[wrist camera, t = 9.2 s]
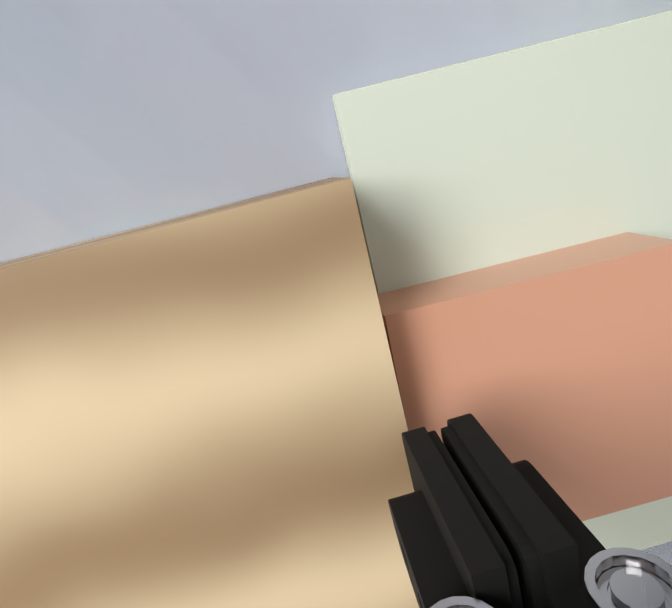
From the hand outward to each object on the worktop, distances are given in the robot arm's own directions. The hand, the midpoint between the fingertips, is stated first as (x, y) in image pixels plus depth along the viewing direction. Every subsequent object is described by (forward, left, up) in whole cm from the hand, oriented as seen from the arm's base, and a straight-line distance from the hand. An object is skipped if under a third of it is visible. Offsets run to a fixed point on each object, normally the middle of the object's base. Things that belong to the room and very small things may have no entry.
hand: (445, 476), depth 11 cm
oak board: (0, -8, -4) cm, 10 cm away
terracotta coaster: (+1, +4, -4) cm, 5 cm away
